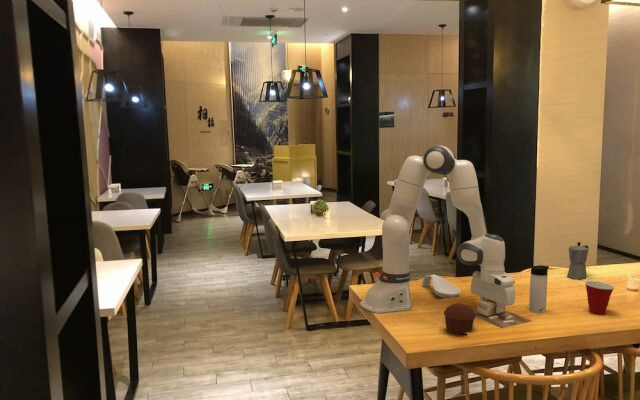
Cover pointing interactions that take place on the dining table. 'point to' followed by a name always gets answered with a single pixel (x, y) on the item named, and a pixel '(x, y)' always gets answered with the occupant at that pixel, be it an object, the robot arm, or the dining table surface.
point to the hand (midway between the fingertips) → (491, 310)
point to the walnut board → (503, 319)
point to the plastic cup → (598, 296)
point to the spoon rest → (441, 286)
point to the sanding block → (488, 308)
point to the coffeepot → (578, 262)
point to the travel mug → (538, 289)
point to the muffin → (459, 319)
